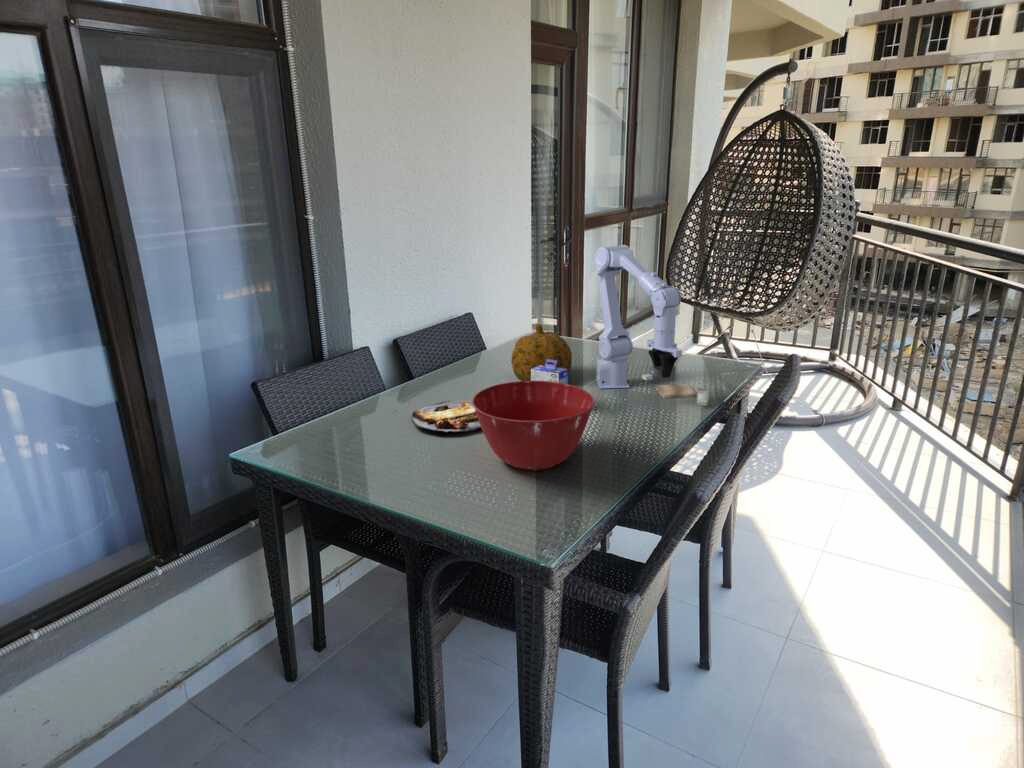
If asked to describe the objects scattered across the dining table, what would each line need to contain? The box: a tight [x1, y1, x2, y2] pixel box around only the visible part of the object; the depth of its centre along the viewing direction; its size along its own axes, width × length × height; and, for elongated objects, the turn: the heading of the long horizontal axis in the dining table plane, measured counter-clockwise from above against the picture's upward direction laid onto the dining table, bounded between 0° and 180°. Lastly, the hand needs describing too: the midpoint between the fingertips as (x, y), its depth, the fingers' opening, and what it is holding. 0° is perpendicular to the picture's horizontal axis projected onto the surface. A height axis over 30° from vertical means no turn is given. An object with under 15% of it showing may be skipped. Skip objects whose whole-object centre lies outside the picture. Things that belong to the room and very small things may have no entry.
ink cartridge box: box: [531, 359, 569, 384], centre depth 186 cm, size 10×6×14 cm, turn 55°
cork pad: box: [655, 383, 697, 399], centre depth 198 cm, size 10×10×1 cm
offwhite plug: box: [695, 387, 709, 408], centre depth 188 cm, size 9×3×4 cm, turn 167°
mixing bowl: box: [471, 380, 595, 471], centre depth 152 cm, size 28×28×16 cm
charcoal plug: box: [641, 365, 677, 384], centre depth 187 cm, size 10×3×4 cm, turn 112°
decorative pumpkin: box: [510, 323, 573, 381], centre depth 212 cm, size 20×21×20 cm
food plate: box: [410, 400, 482, 434], centre depth 180 cm, size 25×23×4 cm
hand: (662, 375), depth 188 cm, fingers closed on charcoal plug, 3 cm apart
